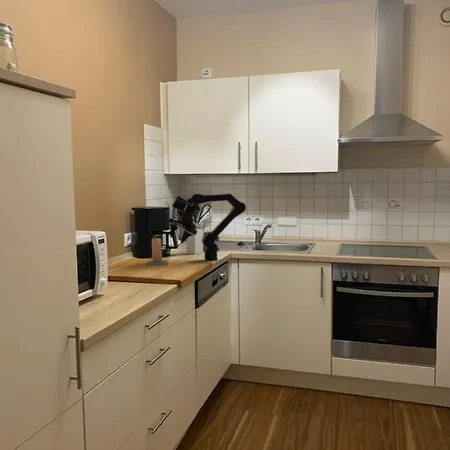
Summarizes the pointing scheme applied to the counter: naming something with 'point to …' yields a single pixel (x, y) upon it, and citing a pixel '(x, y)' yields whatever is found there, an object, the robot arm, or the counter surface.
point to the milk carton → (195, 242)
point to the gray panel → (164, 262)
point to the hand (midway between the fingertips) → (176, 240)
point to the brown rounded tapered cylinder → (156, 250)
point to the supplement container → (214, 242)
